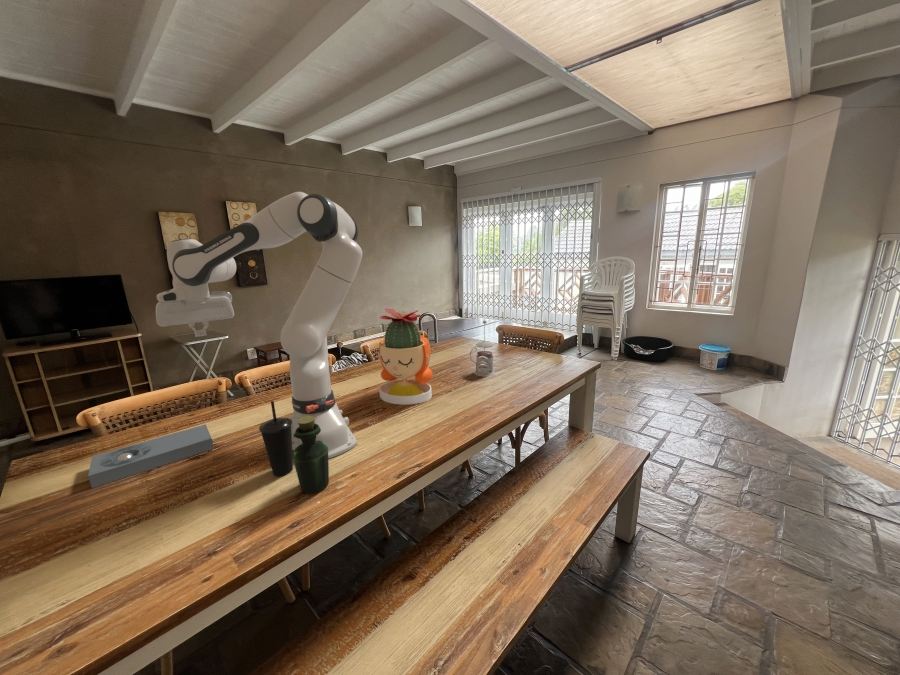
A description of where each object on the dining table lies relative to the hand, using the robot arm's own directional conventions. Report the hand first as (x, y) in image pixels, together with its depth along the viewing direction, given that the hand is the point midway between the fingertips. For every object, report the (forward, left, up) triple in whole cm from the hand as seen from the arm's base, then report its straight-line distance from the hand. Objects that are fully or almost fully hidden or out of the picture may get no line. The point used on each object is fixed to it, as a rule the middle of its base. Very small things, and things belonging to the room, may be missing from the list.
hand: (201, 335), depth 112 cm
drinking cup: (-44, -8, -31) cm, 55 cm away
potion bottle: (-56, -12, -31) cm, 65 cm away
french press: (-29, -101, -31) cm, 110 cm away
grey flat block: (-12, +17, -31) cm, 37 cm away
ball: (-12, +23, -29) cm, 39 cm away
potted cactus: (-24, -62, -31) cm, 73 cm away
